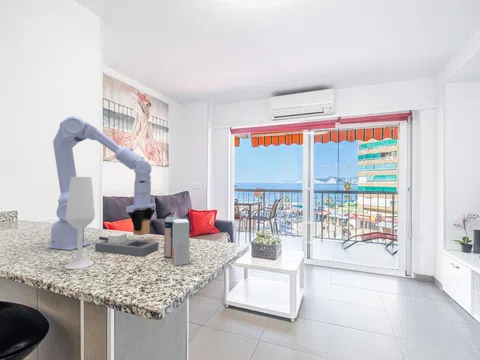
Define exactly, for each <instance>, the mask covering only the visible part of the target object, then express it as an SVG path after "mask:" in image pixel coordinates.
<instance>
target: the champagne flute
mask: <svg viewBox="0 0 480 360" xmlns="http://www.w3.org/2000/svg"><path fill="white" fill-rule="evenodd" d="M95 217H96V214H95V204H94V191H93V179H92V177H91V176H90V177H89V176H76V177H71V180H70V188H69V195H68V202H67V210H66V217H65V218H66V220H67V222H68V223H69V224H70V225H71V226H73V227H74V228H76V229H78V239H77V248H76V258H74V259H73V260H71V261H70V262H69V263H67V264H65V266H64V268H65V269H67V270H76V269H85V268H87V267H90V266H92V265H94V261H92V260H90V259H87V258H86V257H83V247H82V243H83V229H84V230H85V228H86V227H88V226H89V225H90V224H91V223H92V222H93V221H94V219H95Z"/></svg>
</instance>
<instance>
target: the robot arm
mask: <svg viewBox="0 0 480 360" xmlns="http://www.w3.org/2000/svg"><path fill="white" fill-rule="evenodd" d="M86 139H89V140H91V141H97V142H99V144H101V145H103V146H104V147H105V148H107V150H108V149H109V150H110V151H111V152H113V154H115V159H116V160H117V161H118V162H120V163H121V164H123V165H124V166H125V167H126V168H128V169H129V170H133V172H134V174H135V178H134V184H133V185H134V188H133V204H131V205H128V206H126V207H125V208H126V211H125V212H126V213H128V215H129V217H130V219H131V223H132V225H133V227H134V230H135V231H140V230H141V225H142V219H143V218H148V219H147V220H150V221H151V220H152V217H153V215H154V214H155V211H156V205H157V203H155V202H154V203H153V202H152V203H151V194H152V193H151V192H152V190H151V189H152V185H151V184H152V182H151V181H152V180H151V178H152V177H151V176H152V175H151V173H152V166H151V164H150V162H148V161H146V160H145V158H144V157H143V156H140V155H139V154H137V153H136V152H134V149H133V148H132V147H127V146H120V145H119V144H117V143H116V142H115V141H114V140H113V139H111V138H110V137H109V136H108V135H107V134H105V133H104V132H102V131H101V130H100V129H99V128H97V127H95V126H94V125H92V124H90V123H88V122H87V121H84V120H83V119H81V118H80V117H78V116H73V115H72V116H68V117H66V118H64V120H62V121H61V122H60V123H59V129H58V130H57V132H56V134H55V136H54V139H53V141H52V143H53V144H52V146H53V151H54V153H53V154H54V158H55V164H56V166H55V167H56V171H57V177H58V178H57V179H58V185H59V186H58V187H59V190H60V191H59V192H60V195H59V198H58V201H57V202H58V203H57V204H58V205H57V209H56V216H57V218H58V219H59V220H57V221H56V222H54V223H53V224H52V226H51V228H50V229H51V230H50V245H48V247H47V248H49V249H55V250H56V249H57V250H65V251H72V250H75V249H76V250H77V239H78V229H76V228H74V227H73V226H71V225H70V224H69V223H68V222H67V220H66V218H65V217H66V210H67V202H68V195H69V188H70V180H71V177H77V172H76V164H75V158H74V151H73V148H74V147H75V146H76V145H77V144H79V143H80V142H82V141H84V140H85V141H86ZM89 245H91V243H90V242H85V228H84V229H83V243H82V248H83V247H86V246H89Z"/></svg>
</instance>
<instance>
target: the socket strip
mask: <svg viewBox="0 0 480 360" xmlns="http://www.w3.org/2000/svg"><path fill="white" fill-rule="evenodd" d="M98 240H100V242H97V243H95V245H94V247H95V248H94V252H96V253H97V252H99V253H107V254H108V253H109V254H118V255H124V256H126V255H127V256H136V257H145V256H147V255H150V254H151V253H154V252H156V251H159V241H152V240H151V241H150V240H139V239H128V235H127V233H123V232H114V233H111V234H107V236H100V237H99V239H98Z"/></svg>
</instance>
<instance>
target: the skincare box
mask: <svg viewBox="0 0 480 360" xmlns="http://www.w3.org/2000/svg"><path fill="white" fill-rule="evenodd" d="M171 259H172V261H173V265H174V266H182V265H183V266H186V265H190V221H189V220H188V219H187V218H179V219H173V239H172V258H171Z"/></svg>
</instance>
